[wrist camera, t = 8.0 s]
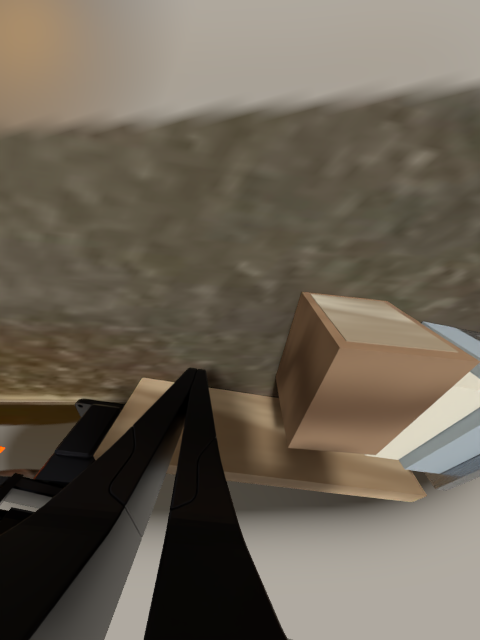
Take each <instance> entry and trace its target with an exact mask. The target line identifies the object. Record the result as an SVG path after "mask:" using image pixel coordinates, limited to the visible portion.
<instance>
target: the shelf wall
mask: <svg viewBox="0 0 480 640" xmlns="http://www.w3.org/2000/svg"><path fill="white" fill-rule="evenodd" d="M174 383H175V382H169V381H162V380H156V379H149V378H142V379H141V381H140V382H139V384H138V385H137V387H136V388H135V390H134V392H133V393H132V395H131V396H130V398H129V400H128V401H127V403H126V404H125V406H124V408H123V409H122V411H121V412H120V414H119V416H118V417H117V419H116V420H115V422H114V423H113V425H112V427H111V428H110V430H109V431H108V433H107V435H106V436H105V438H104V439H103V441H102V443H101V444H100V446H99V447H98V449H97V451H96V452H95V454H94V455H93V456H94V458H95V460H97V459H98V458H99V457H100V456H101V455H102V454H103V453H105V452H106V451H107V450H108V449H109V448H110V447H111V446H112V445H113V444H114V443H115V442H116V441H117V440H118V439H119V438H120V437H121V436H122V435H123V434H124V433H125V432H126V431H127V430H128V429H129V428H130V427H132V426H133V424H134V423H135V422H136V421H137V420H138V419H139V418H140V417H141V416H142V415H143V414H144V413H145V412H146V411H147V410H148V409H149V408H150V407H151V406H152V405H153V404H154V403H155V402H156V401H157V400H158V399H159V398H160V397H161V396H162V395H163V394H164V393H165V392H166V391H167V390H168V389H169V388H170V387H171V386H172V385H173V384H174ZM209 393H210V399H211V405H212V411H213V417H214V423H215V429H216V435H217V436H216V438H217V441H218V447H219V452H220V457H221V462H222V466H223V470H224V474H225V478H226V481H235V482H243V483H252V484H260V485H269V486H278V487H286V488H294V489H303V490H312V491H320V492H330V493H337V494H346V495H356V496H363V497H372V498H380V499H389V500H398V501H406V502H414V501H416V500H418V499H421V498H423V497H425V496H427V495H426V493H425V492H424V490H423V489H422V487H421V485H420V484H419V482H418V481H417V479H416V478H415V476H414V474H413V473H412V471H411V470H406V469H404V468H403V466H402V464H401V463H400V461H399V460H395V459H387V458H380V457H372V456H365V455H364V454H356V453H344V452H332V451H320V450H308V449H296V448H288V445H287V440H286V434H285V428H284V423H283V417H282V411H281V405H280V400H279V398H274V397H268V396H261V395H255V394H248V393H241V392H235V391H228V390H222V389H215V388H209ZM183 429H184V427H183ZM183 429H182V432H181V435H180V438H179V440H178V443H177V446H176V448H175V451H174V454H173V456H172V459H171V462H170V464H169V467H168V470H167V472H166V474H174V475H176V470H177V464H178V458H179V452H180V447H181V441H182V435H183Z"/></svg>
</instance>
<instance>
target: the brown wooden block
mask: <svg viewBox="0 0 480 640" xmlns="http://www.w3.org/2000/svg"><path fill="white" fill-rule="evenodd" d="M479 363H480V361H479V360H477V359H476V358H474V357H472V356H471V355H469V354H468V353H466V352H465V351H463V350H462V349H460V348H458V347H457V346H455V345H454V344H452V343H451V342H449V341H448V340H446V339H444V338H443V337H441V336H440V335H438V334H437V333H435V332H434V331H432V330H431V329H429V328H427V327H426V326H424V325H423V324H421V323H420V322H418V321H417V320H415V319H413V318H412V317H410V316H409V315H407V314H406V313H404V312H403V311H401V310H399V309H398V308H396V307H395V306H393V305H392V304H390V303H389V302H387V301H381V300H372V299H362V298H353V297H344V296H335V295H326V294H317V293H308V292H302V293H301V296H300V299H299V302H298V306H297V309H296V312H295V315H294V319H293V322H292V325H291V328H290V332H289V335H288V338H287V342H286V345H285V348H284V351H283V355H282V358H281V361H280V364H279V368H278V371H277V374H276V383H277V388H278V394H279V400H280V405H281V411H282V417H283V423H284V428H285V434H286V440H287V445H288V448H296V449H308V450H320V451H332V452H344V453H356V454H368V455H376V454H377V453H379V452H380V451H381V450H382V449H383V448H384V447H385V446H386V445H388V444H389V443H390V442H391V441H392V440H393V439H394V438H395V437H397V436H398V435H399V434H400V433H401V432H402V431H403V430H404V429H406V428H407V427H408V426H409V425H410V424H411V423H412V422H413V421H415V420H416V419H417V418H418V417H419V416H420V415H421V414H422V413H424V412H425V411H426V410H427V409H428V408H429V407H430V406H431V405H433V404H434V403H435V402H436V401H437V400H438V399H439V398H440V397H442V396H443V395H444V394H445V393H446V392H447V391H448V390H449V389H451V388H452V387H453V386H454V385H455V384H456V383H457V382H458V381H460V380H461V379H462V378H463V377H464V376H465V375H466V374H467V373H469V372H470V371H471V370H472V369H473V368H474V367H475V366H476V365H478V364H479Z"/></svg>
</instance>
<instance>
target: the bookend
mask: <svg viewBox="0 0 480 640" xmlns="http://www.w3.org/2000/svg"><path fill="white" fill-rule="evenodd" d="M457 329H459V328H457ZM459 330H460V331H462V332H464V333H466V334H467V335H469V336H471V337H473V338H475V339H476V340H478V341H480V333H479V332H474V331H469V330H464V329H459ZM424 473H425V474H426V476H427V477H428V479H429V480H430V482H431V483H432V485H433V486H434V488H435V489H438V490H449V489H451V488H453V487H456V486H458V485H461V484H463V483H466V482H468V481H470V480H473V479H475V478H478V477H480V454H479V455H477V456H475V457H473V458H471V459H469V460H467V461H465V462H463V463H461V464H458V465H456V466H454V467H452V468H450V469H448V470H446V471H444V472H442V473H440V474H437V473H429V472H424Z"/></svg>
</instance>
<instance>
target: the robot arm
mask: <svg viewBox="0 0 480 640" xmlns="http://www.w3.org/2000/svg"><path fill="white" fill-rule="evenodd" d="M75 406H76V408H77V410H78V412H79V414H80V416H81V418H80V420H79V421H78V422H77V423H76V425H75V426H74V427H73V428H72V430H71V431H70V432H69V433H68V435H67V436H66V437H65V438H64V440H63V441H62V442H61V443H60V444H59V446H58V447H57V448H56V450H55V452H54V454H53V455H52V456H51V457H50V458H49V460H48V461H47V462H46V463H45V465H44V466H43V467H42V468H41V470H40V471H39V472H38V474H37V475H36V476H35V477H34V479H30V478H26V477H23V475H21V474H18V473H15V474H14V475H13V476H12V477H10V476H9V477H1V476H0V505H1V504H2V503H3V501H6V502H11V503H16V504H20V505H25V506H30V507H35V508H39V509H38V510H37V511H36V512H32V511H27V510H22V509H17V508H11V509H10V510H9V511H6V510H2V509H0V640H104V639H105V636H106V633H107V631H108V628H109V625H110V623H111V620H112V617H113V615H114V612H115V609H116V607H117V604H118V601H119V598H120V596H121V593H122V590H123V588H124V585H125V582H126V580H127V577H128V574H129V572H130V569H131V566H132V564H133V561H134V558H135V556H136V553H137V550H138V547H139V545H140V542H141V537H142V536H143V534H144V531H145V528H146V526H147V523H148V521H149V518H150V515H151V513H152V510H153V507H154V504H155V502H156V499H157V497H158V494H159V491H160V488H161V486H162V483H163V480H164V478H165V475H166V472H167V470H168V467H169V464H170V462H171V459H172V456H173V454H174V451H175V448H176V446H177V443H178V440H179V438H180V435H181V432H182V429H183V427H184V429H183V435H182V441H181V447H180V452H179V458H178V464H177V470H176V477H175V482H174V488H173V494H172V500H171V506H170V513H169V517H168V523H167V529H166V534H165V539H164V544H163V549H162V554H161V559H160V564H159V569H158V574H157V579H156V583H155V588H154V593H153V598H152V602H151V607H150V611H149V616H148V621H147V626H146V631H145V635H144V640H291V639H288V638H287V637H286V635H285V633H284V631H283V629H282V627H281V625H280V623H279V620H278V618H277V616H276V613H275V611H274V609H273V606H272V604H271V602H270V599H269V597H268V595H267V592H266V590H265V588H264V585H263V583H262V581H261V579H260V576H259V574H258V572H257V570H256V567H255V565H254V562H253V560H252V558H251V555H250V553H249V551H248V548H247V546H246V543H245V541H244V538H243V535H242V532H241V529H240V526H239V523H238V520H237V516H236V513H235V509H234V506H233V502H232V499H231V495H230V492H229V488H228V485H227V482H226V478H225V474H224V470H223V466H222V462H221V457H220V452H219V447H218V441H217V438H216V436H217V435H216V429H215V423H214V417H213V411H212V405H211V399H210V393H209V387H208V380H207V374H206V370H202V369H198V370H197V369H196V368H188V369H187V370H186V371H185V372H184V373H183V374H182V375H181V376H180V377H179V379H178V380H177V381H176V382H175V383H174V384H173V385H172V386H171V387H170V388H169V389H168V390H167V391H166V392H165V393H164V394H163V395H162V396H161V397H160V398H159V399H158V400H157V401H156V402H155V403H154V404H153V405H152V406H151V407H150V408H149V409H148V410H147V411H146V412H145V413H144V414H143V415H142V416H141V417H140V418H139V419H138V420H137V421H136V422H135V423H134V424H133V426H132V427H130V428H129V429H128V430H127V431H126V432H125V433H124V434H123V435H122V436H121V437H120V438H119V439H118V440H117V441H116V442H115V443H114V444H113V445H112V446H111V447H110V448H109V449H108V450H107V451H106V452H105V453H103V454H102V455H101V456H100V457H99V458H98V459H97V460H95V458H94V456H93V455H94V454H95V452H96V451H97V449H98V447H99V446H100V444H101V443H102V441H103V439H104V438H105V436H106V435H107V433H108V431H109V430H110V428H111V427H112V425H113V423H114V422H115V420H116V419H117V417H118V416H119V414H120V412H121V411H122V409H123V408H124V406H125V405H119V404H112V403H105V402H98V401H91V400H83V399H79V400H78V401H77V402H76V403H75Z"/></svg>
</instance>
